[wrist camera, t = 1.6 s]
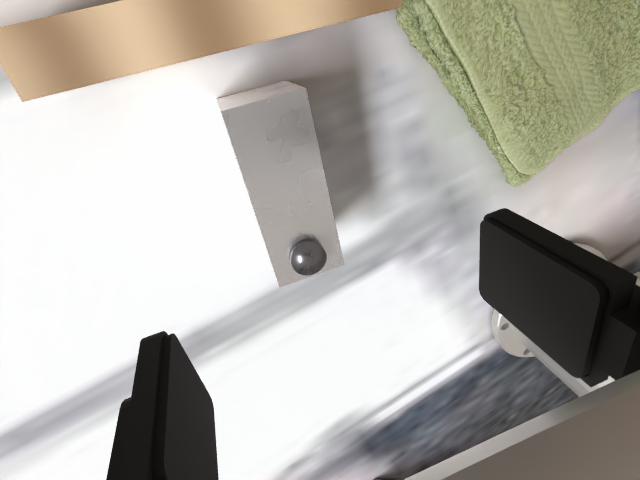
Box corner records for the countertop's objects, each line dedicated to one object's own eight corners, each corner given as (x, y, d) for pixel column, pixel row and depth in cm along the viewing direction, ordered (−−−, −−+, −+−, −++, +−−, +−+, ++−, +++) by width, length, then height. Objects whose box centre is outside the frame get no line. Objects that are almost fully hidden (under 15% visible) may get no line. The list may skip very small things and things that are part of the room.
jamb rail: (353, -37, 20) (396, -60, 15) (360, 15, 21) (402, 7, 17) (34, 36, 17) (-20, 31, 13) (63, 89, 19) (22, 101, 14)
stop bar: (284, 80, 21) (309, 89, 17) (320, 229, 26) (347, 269, 22) (216, 98, 21) (221, 113, 16) (266, 247, 26) (281, 293, 21)
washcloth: (502, 190, 30) (534, 204, 27) (368, -5, 21) (394, -14, 18) (636, 62, 28) (683, 63, 25) (549, -210, 19) (609, -255, 16)
